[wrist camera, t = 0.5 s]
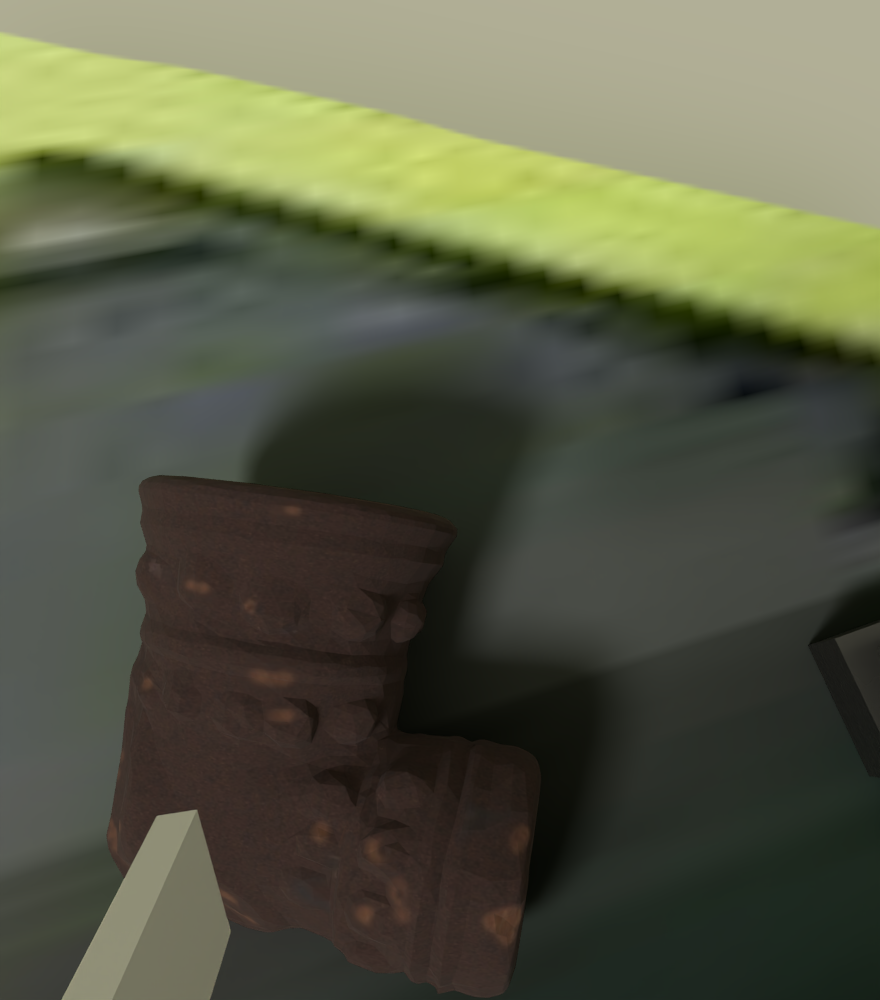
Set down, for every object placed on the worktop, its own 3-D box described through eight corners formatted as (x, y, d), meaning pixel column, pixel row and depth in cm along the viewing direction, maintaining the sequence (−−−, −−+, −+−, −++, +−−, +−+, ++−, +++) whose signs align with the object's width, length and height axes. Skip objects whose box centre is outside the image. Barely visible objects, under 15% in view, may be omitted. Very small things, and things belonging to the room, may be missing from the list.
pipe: (502, 1088, 21) (575, 523, 23) (-7, 963, 24) (83, 458, 25) (521, 932, 31) (572, 541, 32) (157, 854, 33) (217, 493, 34)
